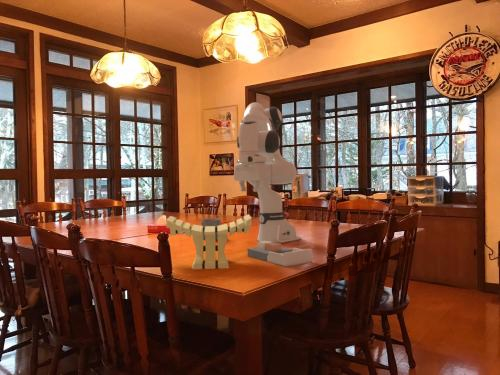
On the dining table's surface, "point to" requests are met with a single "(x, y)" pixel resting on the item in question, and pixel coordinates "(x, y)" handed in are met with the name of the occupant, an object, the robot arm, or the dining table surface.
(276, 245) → the tile terracotta
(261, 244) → the tile cream
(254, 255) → the board
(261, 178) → the robot arm
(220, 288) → the dining table surface
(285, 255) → the box
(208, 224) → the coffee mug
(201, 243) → the slatted curved stool
